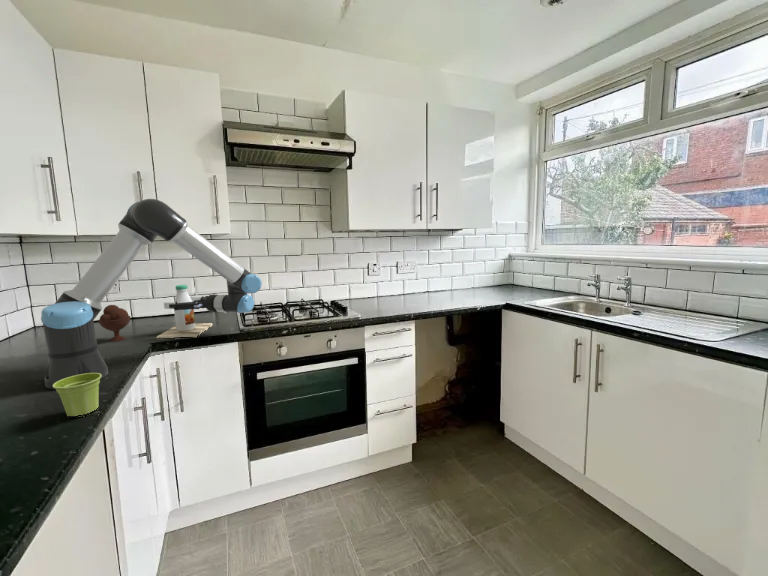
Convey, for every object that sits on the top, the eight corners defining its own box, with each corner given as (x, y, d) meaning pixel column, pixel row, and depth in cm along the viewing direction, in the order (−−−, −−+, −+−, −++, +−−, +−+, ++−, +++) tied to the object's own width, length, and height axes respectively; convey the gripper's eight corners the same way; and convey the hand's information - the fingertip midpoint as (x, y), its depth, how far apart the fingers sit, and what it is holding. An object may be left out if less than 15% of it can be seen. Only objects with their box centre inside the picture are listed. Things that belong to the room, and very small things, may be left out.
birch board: (196, 337, 159) (196, 334, 159) (156, 339, 157) (156, 336, 157) (212, 325, 179) (212, 323, 179) (177, 327, 177) (176, 324, 177)
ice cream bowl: (96, 345, 152) (91, 308, 149) (108, 337, 162) (103, 303, 160) (126, 342, 155) (121, 306, 152) (136, 335, 165) (132, 301, 163)
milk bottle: (178, 332, 163) (173, 287, 160) (174, 329, 168) (169, 285, 165) (198, 329, 168) (193, 285, 165) (193, 326, 173) (188, 283, 170)
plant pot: (49, 418, 91) (43, 384, 90) (91, 401, 100) (86, 370, 98) (74, 424, 88) (68, 389, 86) (115, 406, 96) (110, 374, 95)
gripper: (199, 318, 151) (155, 317, 155) (236, 305, 174) (197, 305, 179) (197, 300, 149) (152, 299, 154) (235, 290, 173) (196, 289, 178)
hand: (176, 302), depth 167 cm, fingers open, 13 cm apart
